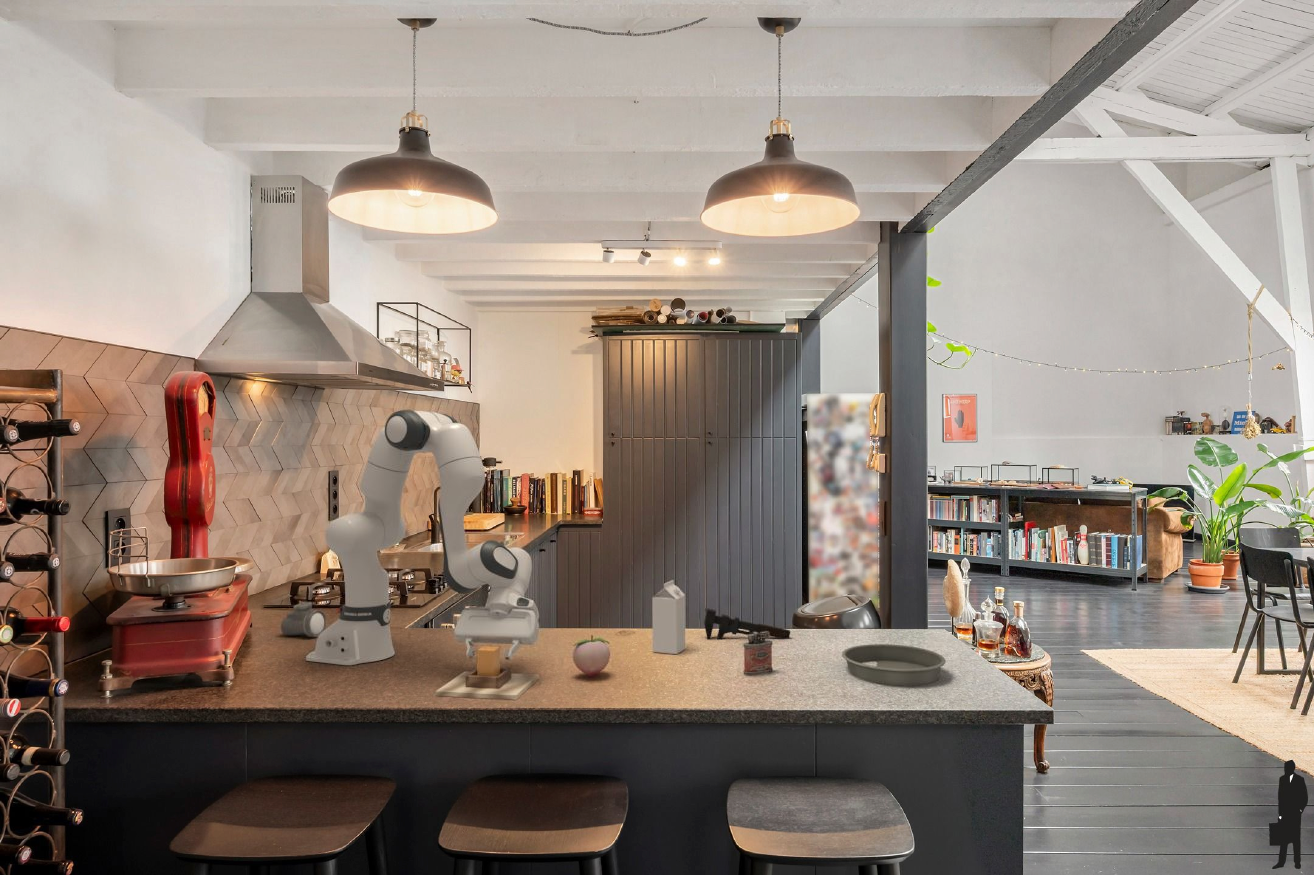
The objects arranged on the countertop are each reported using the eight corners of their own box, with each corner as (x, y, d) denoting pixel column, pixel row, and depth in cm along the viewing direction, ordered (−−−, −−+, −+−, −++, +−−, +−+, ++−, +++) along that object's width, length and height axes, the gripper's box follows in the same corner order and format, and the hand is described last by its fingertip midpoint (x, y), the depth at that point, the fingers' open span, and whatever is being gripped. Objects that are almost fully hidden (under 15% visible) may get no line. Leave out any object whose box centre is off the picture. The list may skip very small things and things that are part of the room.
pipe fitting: (330, 632, 233) (325, 599, 233) (312, 640, 225) (307, 606, 225) (297, 634, 236) (292, 602, 236) (278, 643, 228) (273, 609, 228)
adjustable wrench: (785, 656, 224) (701, 638, 224) (784, 653, 227) (701, 636, 227) (791, 628, 224) (707, 610, 224) (789, 625, 227) (707, 608, 227)
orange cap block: (477, 684, 177) (477, 650, 178) (484, 679, 181) (484, 645, 182) (493, 685, 177) (493, 650, 177) (500, 680, 181) (500, 646, 181)
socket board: (435, 695, 173) (435, 680, 173) (464, 675, 188) (464, 661, 189) (516, 699, 170) (516, 683, 170) (538, 678, 185) (538, 664, 185)
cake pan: (914, 658, 204) (913, 641, 204) (966, 685, 179) (966, 666, 180) (826, 662, 200) (826, 645, 200) (868, 691, 175) (868, 671, 175)
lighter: (748, 676, 186) (748, 635, 187) (740, 673, 189) (740, 632, 190) (775, 672, 190) (775, 631, 190) (767, 668, 193) (767, 629, 193)
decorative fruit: (583, 683, 181) (582, 641, 182) (568, 675, 188) (568, 634, 189) (617, 677, 186) (617, 636, 187) (601, 669, 193) (601, 629, 194)
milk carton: (652, 652, 210) (652, 583, 210) (661, 646, 216) (661, 579, 217) (676, 655, 207) (676, 584, 207) (685, 648, 214) (685, 580, 214)
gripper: (460, 599, 188) (442, 648, 179) (540, 601, 185) (526, 652, 175) (467, 613, 193) (450, 662, 183) (545, 615, 189) (532, 666, 180)
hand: (488, 657), depth 179 cm, fingers open, 8 cm apart
